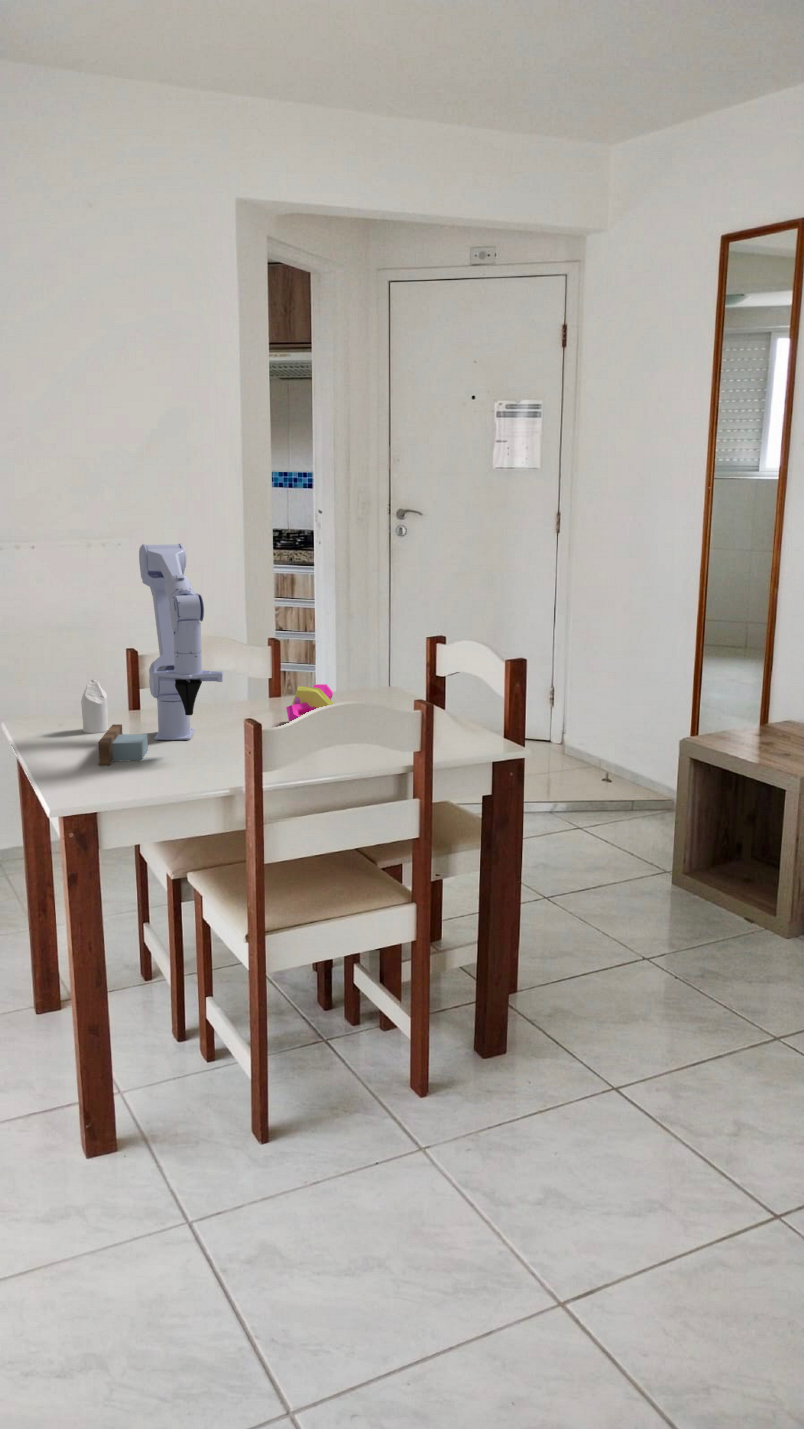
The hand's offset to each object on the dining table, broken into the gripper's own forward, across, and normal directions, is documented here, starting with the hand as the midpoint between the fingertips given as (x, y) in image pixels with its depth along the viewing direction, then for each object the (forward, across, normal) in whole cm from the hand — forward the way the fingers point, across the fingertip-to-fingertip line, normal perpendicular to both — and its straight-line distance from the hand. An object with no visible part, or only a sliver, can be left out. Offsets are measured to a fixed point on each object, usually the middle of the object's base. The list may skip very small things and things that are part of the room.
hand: (189, 714), depth 241 cm
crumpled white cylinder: (+9, -25, +21) cm, 34 cm away
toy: (+9, +26, +29) cm, 40 cm away
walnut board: (+9, -16, -2) cm, 19 cm away
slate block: (+9, -12, -2) cm, 15 cm away
